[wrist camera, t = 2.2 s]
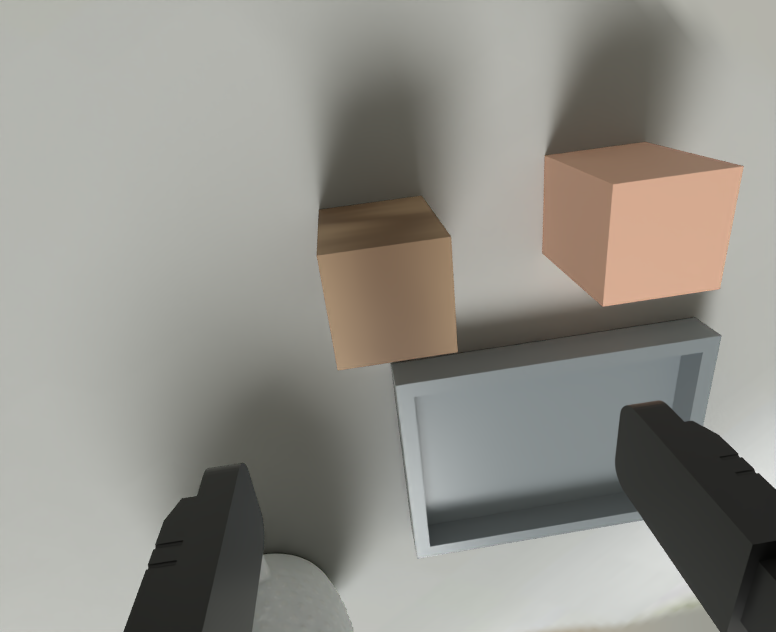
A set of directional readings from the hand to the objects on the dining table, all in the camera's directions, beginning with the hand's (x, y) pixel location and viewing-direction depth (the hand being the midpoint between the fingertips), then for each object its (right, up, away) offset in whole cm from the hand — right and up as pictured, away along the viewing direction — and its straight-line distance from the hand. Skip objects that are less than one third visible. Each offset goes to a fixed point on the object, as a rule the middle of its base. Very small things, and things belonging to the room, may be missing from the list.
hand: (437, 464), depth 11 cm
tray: (+8, -3, +18) cm, 20 cm away
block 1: (-2, +6, +12) cm, 14 cm away
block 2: (+8, +8, +13) cm, 17 cm away
